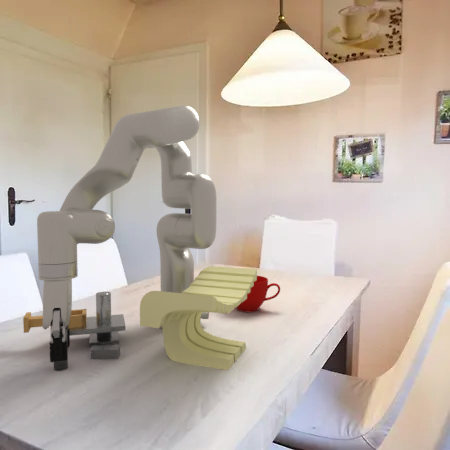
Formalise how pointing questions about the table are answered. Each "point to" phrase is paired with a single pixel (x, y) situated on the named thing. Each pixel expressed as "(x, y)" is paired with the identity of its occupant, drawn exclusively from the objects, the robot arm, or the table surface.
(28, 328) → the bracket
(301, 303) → the table surface
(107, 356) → the wedge bar
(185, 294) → the slatted curved stool
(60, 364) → the pin
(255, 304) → the ceramic cup
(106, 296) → the grey metal fixture
